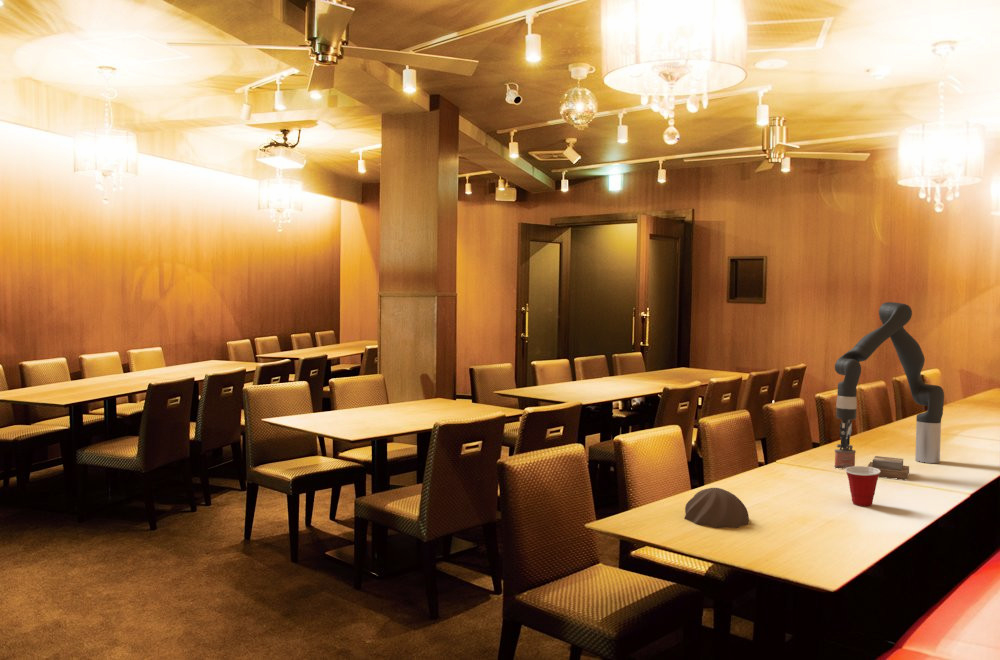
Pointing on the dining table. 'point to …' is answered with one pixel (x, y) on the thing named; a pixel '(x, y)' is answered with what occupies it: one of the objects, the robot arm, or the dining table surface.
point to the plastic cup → (862, 484)
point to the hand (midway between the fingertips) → (845, 446)
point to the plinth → (893, 472)
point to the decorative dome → (716, 509)
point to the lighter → (844, 457)
